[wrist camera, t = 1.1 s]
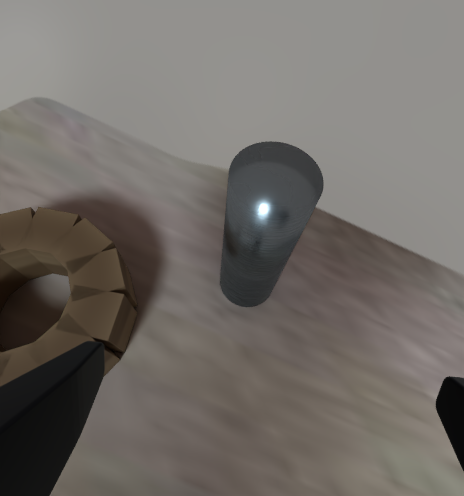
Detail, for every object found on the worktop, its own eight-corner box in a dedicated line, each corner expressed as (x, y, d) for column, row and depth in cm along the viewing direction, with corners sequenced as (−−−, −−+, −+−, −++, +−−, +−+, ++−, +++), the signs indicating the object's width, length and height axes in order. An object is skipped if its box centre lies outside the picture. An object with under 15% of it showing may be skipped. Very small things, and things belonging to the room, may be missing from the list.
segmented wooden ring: (153, 372, 21) (142, 363, 17) (-56, 447, 19) (-118, 454, 15) (117, 221, 26) (102, 190, 22) (-52, 263, 23) (-98, 237, 20)
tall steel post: (281, 297, 24) (340, 202, 13) (230, 314, 23) (249, 228, 12) (261, 250, 26) (298, 133, 15) (212, 265, 25) (216, 152, 14)
